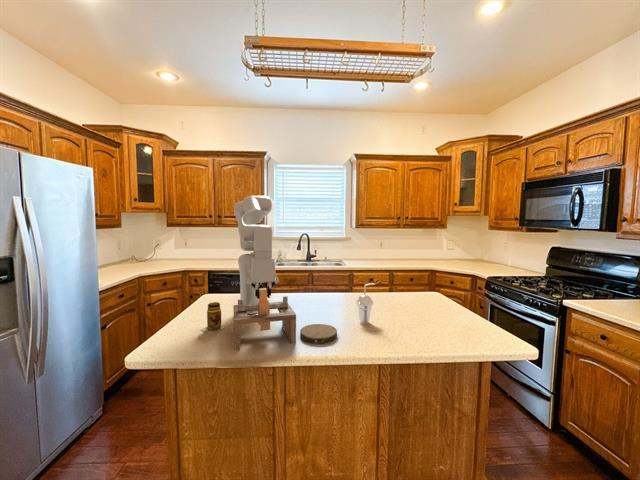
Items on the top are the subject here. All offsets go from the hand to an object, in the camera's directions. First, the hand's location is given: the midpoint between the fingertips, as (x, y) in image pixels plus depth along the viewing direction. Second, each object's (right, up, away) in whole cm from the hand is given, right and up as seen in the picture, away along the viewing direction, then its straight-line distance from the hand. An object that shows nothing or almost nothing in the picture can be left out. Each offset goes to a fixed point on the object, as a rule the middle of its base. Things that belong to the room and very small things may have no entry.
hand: (263, 297), depth 126 cm
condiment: (-25, -17, +10) cm, 32 cm away
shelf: (0, -17, +1) cm, 17 cm away
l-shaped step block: (0, -13, +1) cm, 13 cm away
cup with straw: (+46, -17, +20) cm, 53 cm away
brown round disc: (+24, -18, +3) cm, 30 cm away
